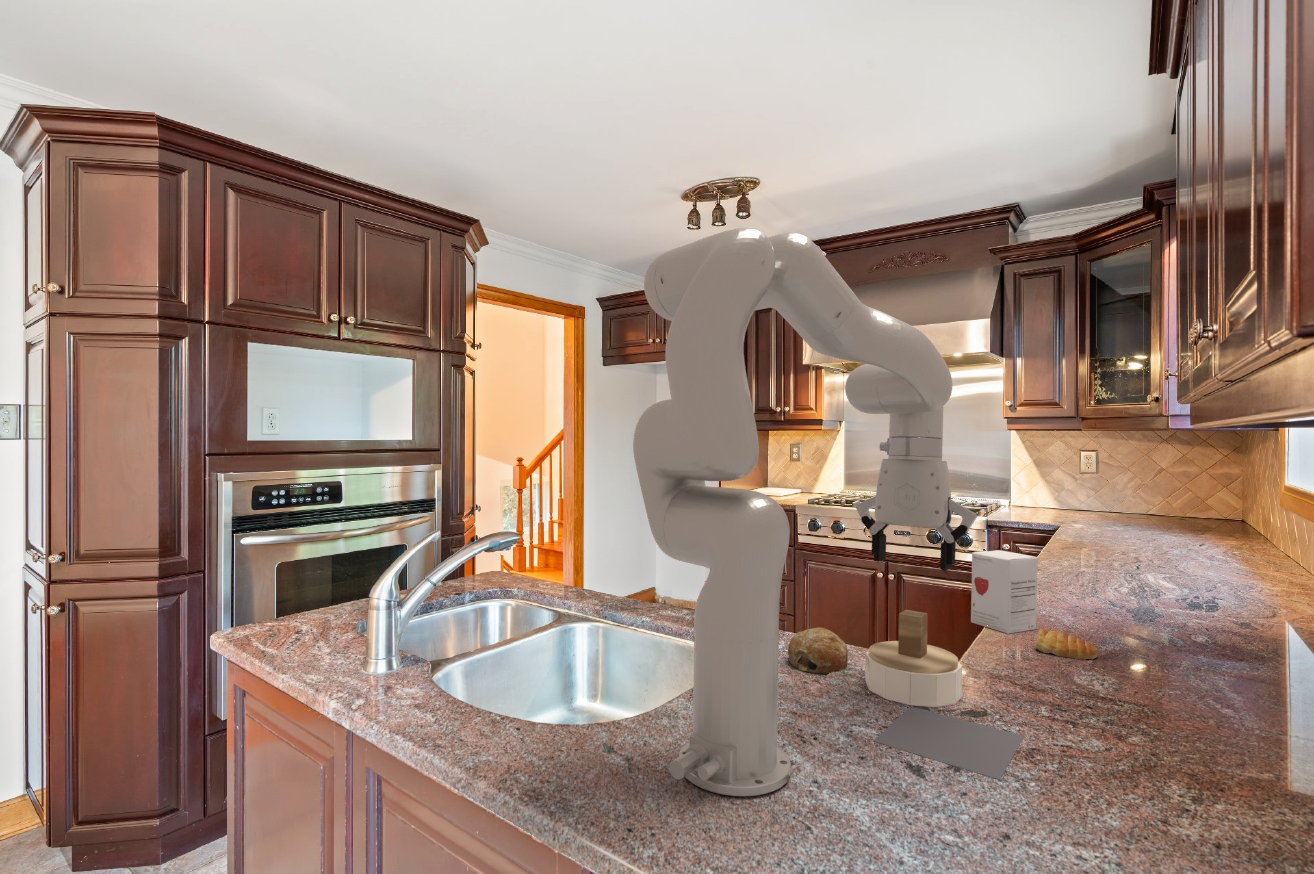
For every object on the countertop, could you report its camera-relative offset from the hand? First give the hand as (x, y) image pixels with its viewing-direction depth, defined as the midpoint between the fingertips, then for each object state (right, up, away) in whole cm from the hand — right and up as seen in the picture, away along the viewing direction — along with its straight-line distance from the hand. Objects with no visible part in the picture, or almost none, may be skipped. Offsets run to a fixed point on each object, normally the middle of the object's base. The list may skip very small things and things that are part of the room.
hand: (911, 564), depth 97 cm
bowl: (0, -19, 0) cm, 19 cm away
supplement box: (+34, -20, +38) cm, 54 cm away
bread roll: (-11, -20, +12) cm, 26 cm away
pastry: (+35, -20, +21) cm, 46 cm away
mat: (-2, -19, -16) cm, 25 cm away
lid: (0, -14, 0) cm, 14 cm away
